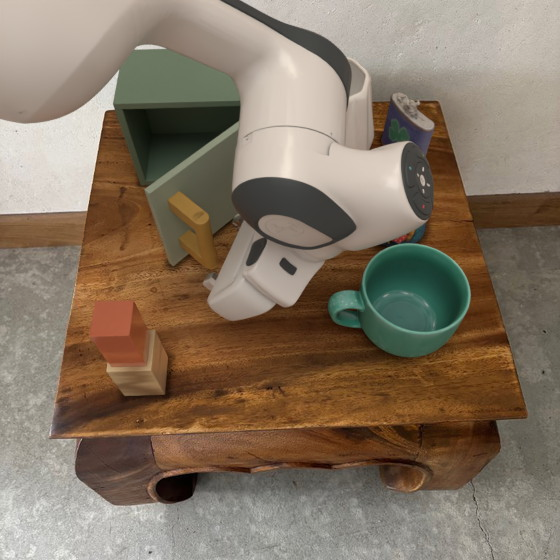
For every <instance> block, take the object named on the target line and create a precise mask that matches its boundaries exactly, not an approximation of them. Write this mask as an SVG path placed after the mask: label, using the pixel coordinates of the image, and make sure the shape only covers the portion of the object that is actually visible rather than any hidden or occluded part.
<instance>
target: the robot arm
mask: <svg viewBox="0 0 560 560" xmlns="http://www.w3.org/2000/svg"><path fill="white" fill-rule="evenodd" d="M139 46H158V47H161V48H163V49H169V50H171V51H173V52H176V53H178V54H180V55H183V56H185V57H187V58H190V59H192V60H194V61H197V62H199V63H202V64H204V65H206V66H209V67H211V68H213V69H216V70H218V71H220V72H223V73H225V74H227V75H228V76H230V77H231V79H232V80H233V81H234V83H235V85H236V87H237V90H238V93H239V97H240V104H241V107H240V118H239V128H238V138H237V146H236V149H235V158H234V168H233V180H232V196H231V200H232V203H233V205H234V207H235V209H236V210H237V212H238V213H239V214H237V215H235V216H234V218H233V219H232V220H231V223H230V226H231V227H232V228H234V229H235V231H237V234H236V235H235V238H234V240H233V242H232V245H231V246H230V249H229V251H228V253H227V255H226V258H225V259H224V262H223V264H222V267H221V269H220V271H219V273H216V272H215V271H212V272H210V273H207V274H206V275H205V278H204V279H203V282H202V286H203V287H204V288H206V289H207V290H208V291H210V293H209V294H208V297H207V299H206V303H207V304H208V306H209V308H210V309H211V310H212V311H213V312H214V313H216V314H217V315H219V316H220V317H222V318H223V319H224V320H226V321H231V322H235V321H241V320H246V319H250V318H254V317H257V316H260V315H263V314H265V313H267V312H269V311H270V310H272V309H273V308H274V307H275V306H276V305H279V306H280V307H282V308H289V307H292V306H294V305H295V304H296V303H297V301H298V300H299V299H300V297H301V295H302V293H303V292H304V291H305V289H306V287H307V286H308V284H309V282H311V280H312V278H313V277H314V276H315V275H316V273H318V271H319V270H320V269H321V268H322V267H323V265H324V264H325V263H326V261H327V260H331V259H333V258H335V257H338V256H339V255H341V254H342V253H343V252H345V251H352V252H357V251H362V250H366V249H369V248H374V247H376V246H379V245H381V244H383V243H385V242H388V241H391V240H393V239H396V238H399V237H401V236H403V235H405V234H408V233H410V232H412V231H413V230H415V229H417V228H419V227H420V226H422V225H423V224H424V223H426V224H427V222H428V221H429V220H430V218H431V216H432V213H433V210H434V204H435V202H434V201H435V190H434V189H435V188H434V187H435V186H434V175H433V174H432V169H431V167H430V163H429V160H428V158H427V155H426V156H425V155H424V153H423V152H422V151H421V149H420V148H419V147H418V146H417V145H416V144H415V143H413V142H411V141H403V142H397V143H392V144H388V145H385V146H384V145H382V146H378V147H375V148H372V149H370V150H369V151H368V150H357V149H352V148H348V147H345V139H346V112H347V108H348V103H349V95H350V87H351V80H352V71H351V67H350V64H349V62H348V60H347V58H346V57H347V56H346V54H345V53H344V52H343V51H342V50H341V49H340V48H339V47H338V45H336V44H334V43H333V42H332V41H331V40H330V39H328V38H327V37H325V36H323V35H322V34H320V33H317V32H315V31H312V30H309V29H305V28H303V27H299V26H295V25H293V24H290V23H286V22H283V21H281V20H279V19H277V18H274V17H273V16H270V15H268V14H266V13H264V12H263V11H261V10H260V9H257V8H255V7H253V6H252V5H250V4H248V3H246V2H245V1H243V0H0V120H3V121H6V122H12V123H17V124H22V125H23V124H24V125H27V124H28V125H29V124H40V123H45V122H50V121H54V120H58V119H61V118H63V117H66V116H68V115H69V114H72V113H74V112H76V111H77V110H79V109H81V108H82V107H83V106H85V105H86V104H88V103H89V102H90V101H91V100H93V98H94V97H96V96H97V95H98V94H99V93H100V92H101V91H102V90H103V89H104V88H105V87H106V85H108V84H109V82H110V81H111V80H112V79H113V78H114V77H115V76H116V75H117V73H119V69H120V68H121V67H122V65H123V64H124V63H125V61H126V60H127V59H128V57H129V56H130V55H131V53H132V52H133V51H134V50H136V48H137V47H139Z"/></svg>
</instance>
